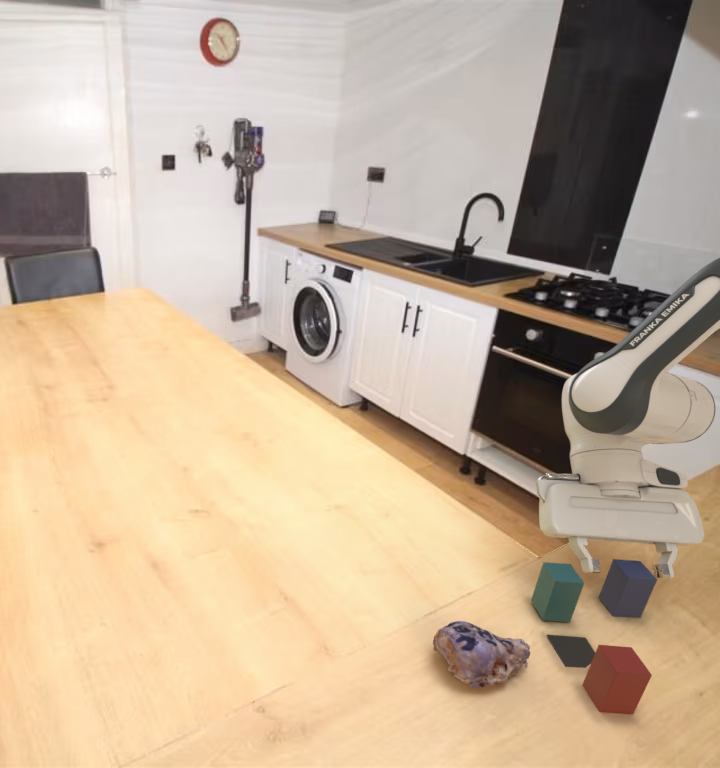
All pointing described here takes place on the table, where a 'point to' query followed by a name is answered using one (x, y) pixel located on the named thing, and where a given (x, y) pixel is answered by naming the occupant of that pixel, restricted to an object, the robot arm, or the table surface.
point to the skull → (479, 653)
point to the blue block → (627, 588)
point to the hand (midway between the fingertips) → (627, 575)
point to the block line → (608, 664)
